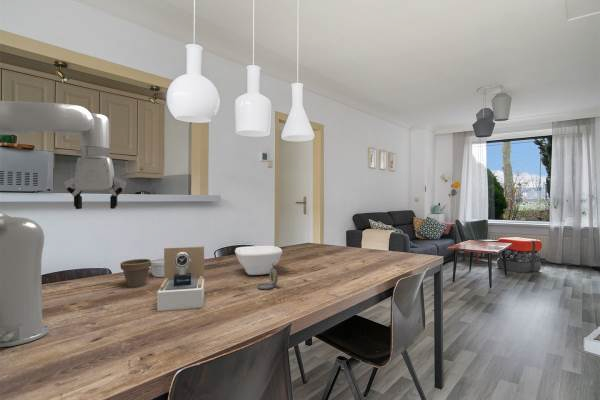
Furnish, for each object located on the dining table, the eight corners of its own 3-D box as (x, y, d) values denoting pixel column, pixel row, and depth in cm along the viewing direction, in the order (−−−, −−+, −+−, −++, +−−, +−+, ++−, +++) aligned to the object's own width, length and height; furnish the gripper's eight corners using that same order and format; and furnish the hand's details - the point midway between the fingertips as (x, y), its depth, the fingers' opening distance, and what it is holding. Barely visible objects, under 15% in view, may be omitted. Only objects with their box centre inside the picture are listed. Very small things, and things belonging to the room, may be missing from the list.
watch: (173, 287, 111) (173, 254, 110) (174, 281, 118) (174, 250, 118) (191, 286, 112) (190, 253, 112) (191, 280, 120) (191, 250, 120)
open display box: (202, 307, 110) (202, 253, 110) (157, 311, 107) (156, 255, 106) (204, 293, 126) (204, 246, 125) (165, 296, 122) (164, 247, 122)
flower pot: (113, 287, 133) (113, 263, 133) (135, 280, 144) (135, 257, 144) (136, 290, 130) (136, 264, 130) (157, 282, 141) (157, 259, 141)
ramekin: (166, 270, 165) (166, 256, 165) (186, 273, 159) (186, 258, 159) (143, 276, 153) (143, 261, 153) (164, 279, 147) (164, 263, 147)
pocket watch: (253, 288, 132) (253, 264, 131) (265, 283, 139) (265, 260, 139) (271, 291, 128) (271, 266, 128) (282, 286, 135) (282, 262, 135)
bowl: (237, 281, 144) (237, 254, 144) (233, 269, 165) (233, 246, 165) (286, 277, 150) (286, 252, 150) (276, 267, 171) (276, 244, 171)
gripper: (58, 151, 98) (59, 209, 98) (122, 153, 102) (123, 208, 102) (69, 154, 105) (70, 208, 105) (128, 156, 109) (129, 208, 109)
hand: (96, 208), depth 104 cm, fingers open, 9 cm apart
